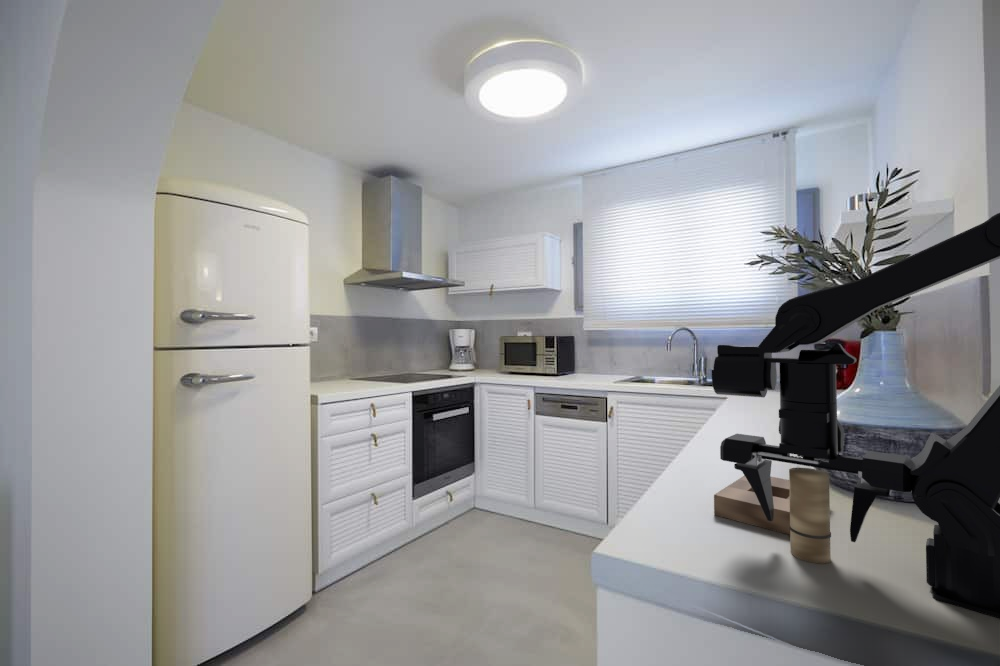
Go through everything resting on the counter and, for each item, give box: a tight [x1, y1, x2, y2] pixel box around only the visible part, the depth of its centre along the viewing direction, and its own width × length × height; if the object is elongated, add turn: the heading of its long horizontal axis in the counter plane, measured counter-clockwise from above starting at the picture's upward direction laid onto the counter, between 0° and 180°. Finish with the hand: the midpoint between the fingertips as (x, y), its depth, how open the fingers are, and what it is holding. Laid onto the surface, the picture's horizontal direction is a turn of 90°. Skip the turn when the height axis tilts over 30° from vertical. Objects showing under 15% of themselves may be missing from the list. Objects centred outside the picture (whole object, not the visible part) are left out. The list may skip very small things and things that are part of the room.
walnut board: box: [713, 474, 790, 536], centre depth 69 cm, size 11×16×3 cm
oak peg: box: [788, 467, 832, 565], centre depth 55 cm, size 4×4×10 cm
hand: (809, 530), depth 55 cm, fingers open, 8 cm apart
